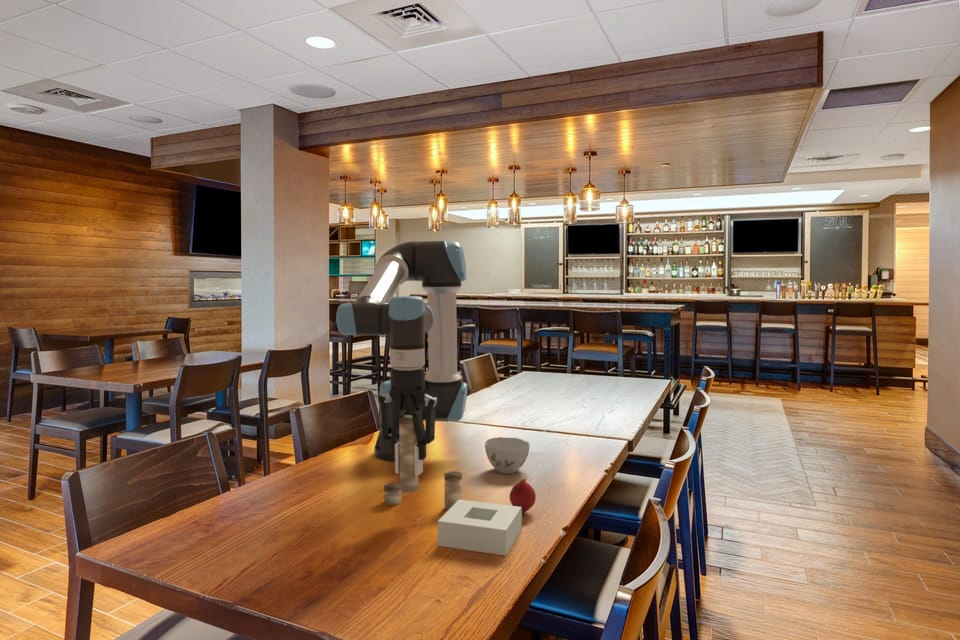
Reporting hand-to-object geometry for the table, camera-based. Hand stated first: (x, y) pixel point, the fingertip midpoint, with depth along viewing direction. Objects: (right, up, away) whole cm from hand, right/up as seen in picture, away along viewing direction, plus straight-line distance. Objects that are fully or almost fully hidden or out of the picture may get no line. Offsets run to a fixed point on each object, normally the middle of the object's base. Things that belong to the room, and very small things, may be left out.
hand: (409, 472), depth 125 cm
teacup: (+24, -9, +34) cm, 43 cm away
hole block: (+16, -11, -9) cm, 21 cm away
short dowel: (-5, -10, +10) cm, 15 cm away
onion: (+25, -10, +3) cm, 27 cm away
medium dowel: (+9, -10, +6) cm, 15 cm away
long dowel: (0, -4, 0) cm, 4 cm away
